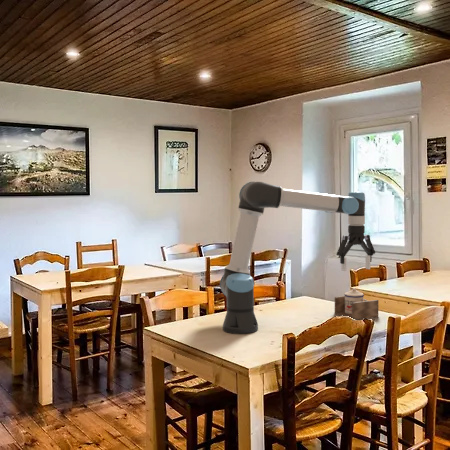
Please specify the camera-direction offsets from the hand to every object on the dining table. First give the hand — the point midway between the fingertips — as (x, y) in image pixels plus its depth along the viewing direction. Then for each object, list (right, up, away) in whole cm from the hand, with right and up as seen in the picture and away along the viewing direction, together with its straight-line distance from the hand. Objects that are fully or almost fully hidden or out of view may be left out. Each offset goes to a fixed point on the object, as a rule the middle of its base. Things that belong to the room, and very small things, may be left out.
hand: (355, 269), depth 253 cm
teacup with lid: (+1, -21, +2) cm, 21 cm away
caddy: (0, -22, +1) cm, 22 cm away
